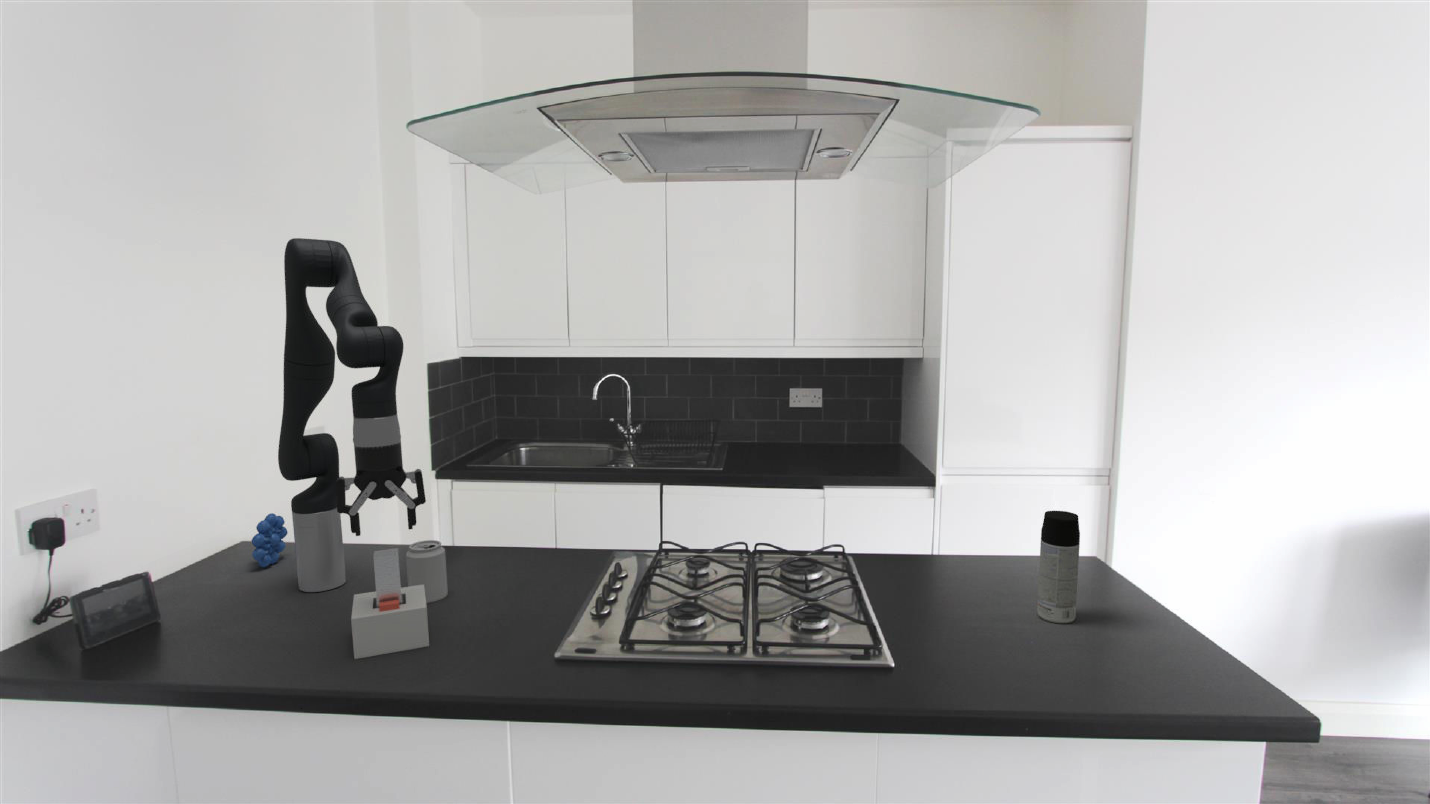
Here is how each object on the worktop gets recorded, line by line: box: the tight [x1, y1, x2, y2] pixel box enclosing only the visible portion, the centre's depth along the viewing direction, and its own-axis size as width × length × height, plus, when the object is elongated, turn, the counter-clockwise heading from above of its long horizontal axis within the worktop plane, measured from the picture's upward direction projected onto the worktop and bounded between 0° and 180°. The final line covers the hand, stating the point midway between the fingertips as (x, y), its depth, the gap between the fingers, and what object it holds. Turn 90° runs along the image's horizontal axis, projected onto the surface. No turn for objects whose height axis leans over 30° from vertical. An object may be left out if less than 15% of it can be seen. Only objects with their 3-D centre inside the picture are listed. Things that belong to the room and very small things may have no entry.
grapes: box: [250, 513, 289, 568], centre depth 182 cm, size 12×7×12 cm, turn 177°
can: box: [405, 539, 449, 604], centre depth 158 cm, size 8×8×12 cm
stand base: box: [350, 585, 430, 660], centre depth 139 cm, size 14×14×9 cm
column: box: [373, 547, 403, 608], centre depth 138 cm, size 4×4×16 cm
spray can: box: [1037, 510, 1081, 624], centre depth 145 cm, size 7×7×20 cm
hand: (384, 531), depth 136 cm, fingers open, 8 cm apart
